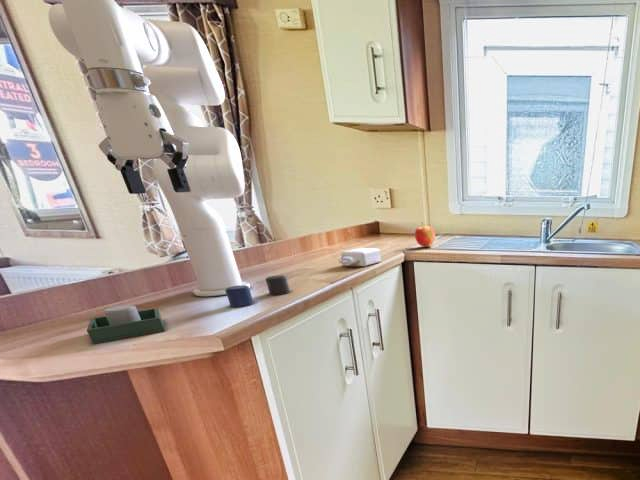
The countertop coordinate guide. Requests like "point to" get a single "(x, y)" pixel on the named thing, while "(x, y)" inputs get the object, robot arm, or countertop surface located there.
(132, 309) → the grey cap
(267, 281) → the black cap
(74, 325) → the countertop surface
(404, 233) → the countertop surface
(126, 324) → the tray
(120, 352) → the countertop surface
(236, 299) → the navy cap
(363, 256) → the charger
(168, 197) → the robot arm
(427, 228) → the apple
